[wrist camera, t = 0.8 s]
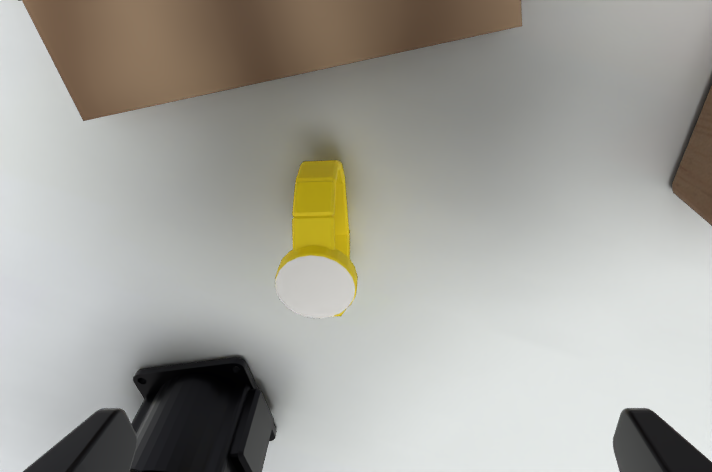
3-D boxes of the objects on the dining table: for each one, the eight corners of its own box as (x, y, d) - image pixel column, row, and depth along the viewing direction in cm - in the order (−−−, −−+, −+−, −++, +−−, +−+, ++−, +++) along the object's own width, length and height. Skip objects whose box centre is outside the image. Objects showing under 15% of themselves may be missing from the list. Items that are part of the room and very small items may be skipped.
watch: (366, 255, 23) (361, 353, 18) (308, 257, 23) (288, 353, 18) (359, 136, 19) (350, 217, 14) (290, 139, 20) (259, 219, 15)
